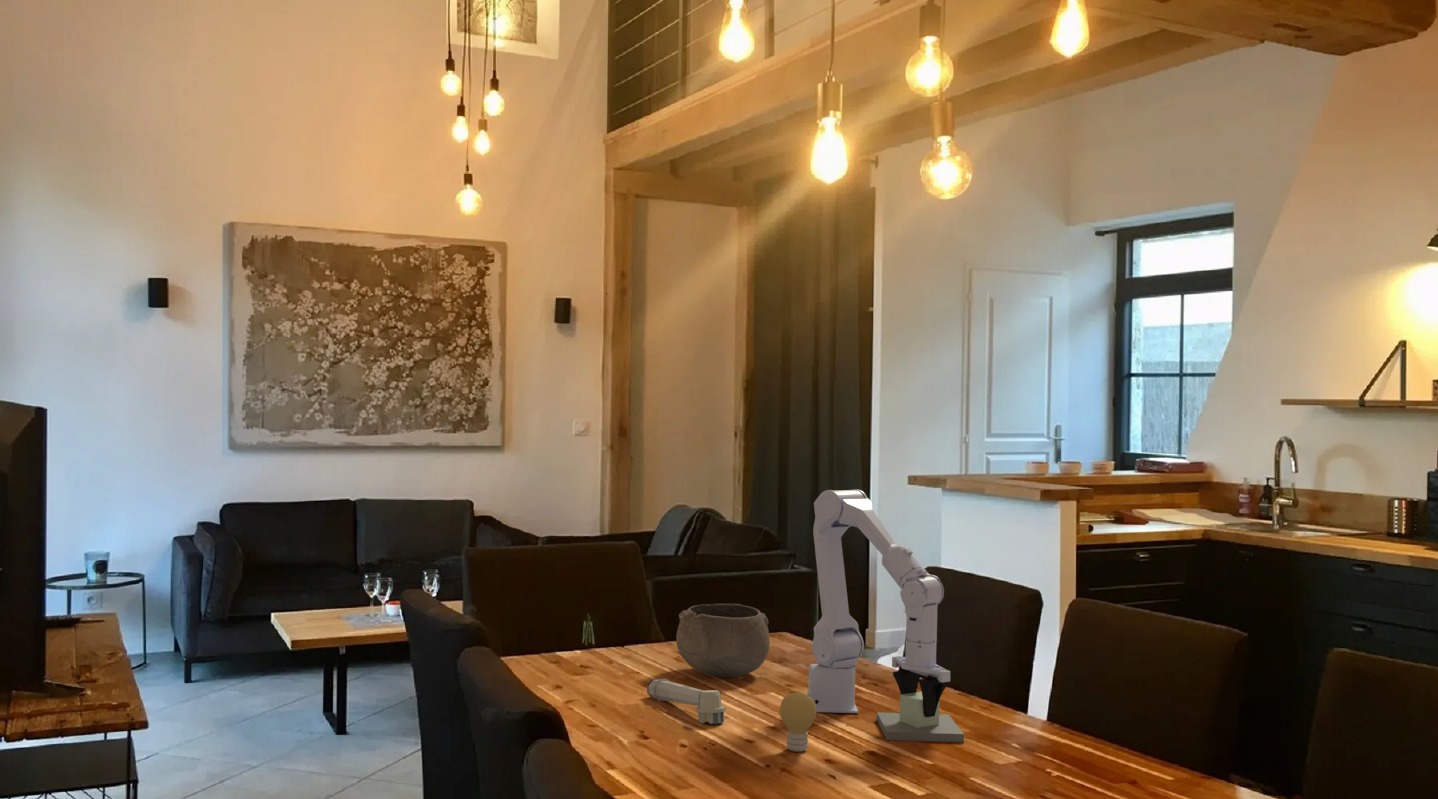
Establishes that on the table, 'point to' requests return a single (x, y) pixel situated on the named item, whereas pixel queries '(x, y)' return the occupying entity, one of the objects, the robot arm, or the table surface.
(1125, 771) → the table surface
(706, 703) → the toothbrush head
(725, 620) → the clay pot
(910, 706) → the pale green cube
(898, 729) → the post board
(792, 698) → the light bulb
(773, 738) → the table surface
